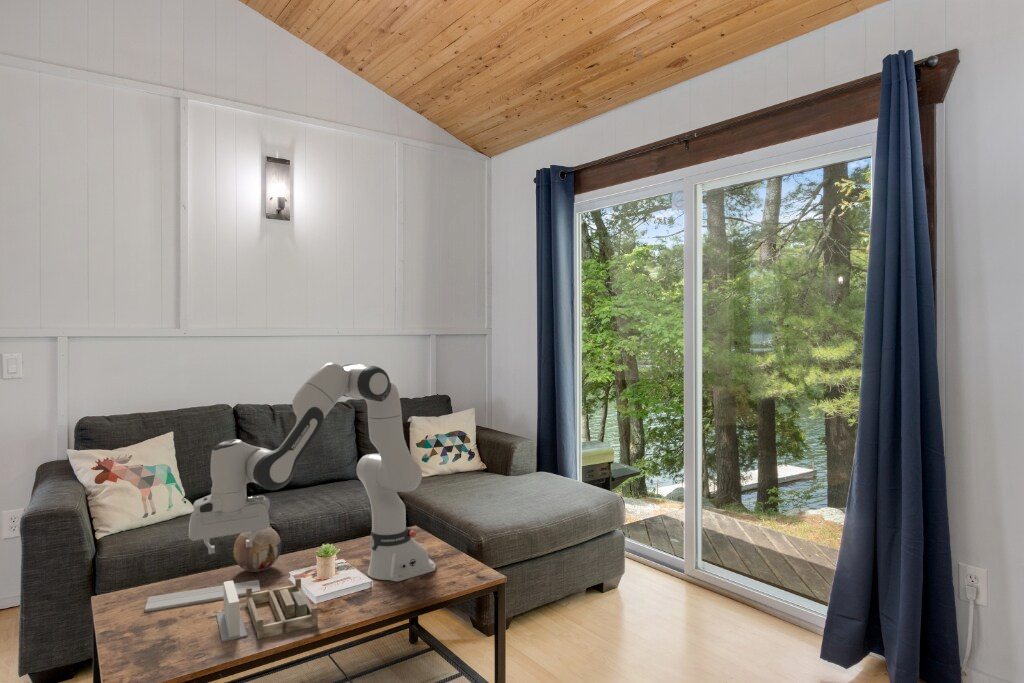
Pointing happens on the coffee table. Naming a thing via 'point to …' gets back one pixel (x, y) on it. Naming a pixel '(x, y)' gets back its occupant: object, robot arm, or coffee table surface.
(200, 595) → the baseboard molding
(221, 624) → the mat
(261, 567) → the ornament
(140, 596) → the coffee table surface
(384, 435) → the robot arm
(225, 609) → the cream rectangular board
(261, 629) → the rack
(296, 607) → the offcuts
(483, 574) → the coffee table surface
